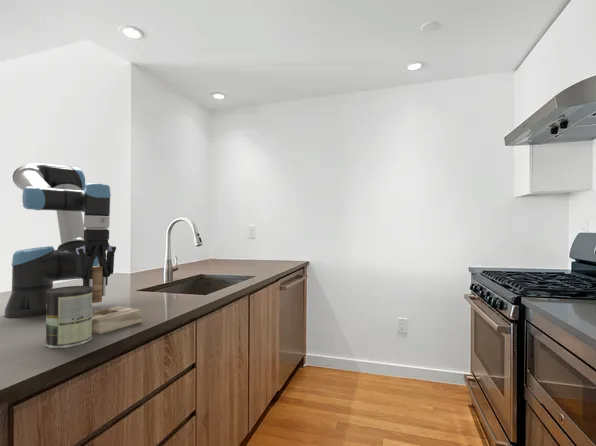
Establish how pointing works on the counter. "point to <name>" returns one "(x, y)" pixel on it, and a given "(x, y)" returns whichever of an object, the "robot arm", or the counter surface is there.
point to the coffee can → (68, 316)
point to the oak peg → (97, 283)
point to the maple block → (114, 319)
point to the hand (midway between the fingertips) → (95, 296)
